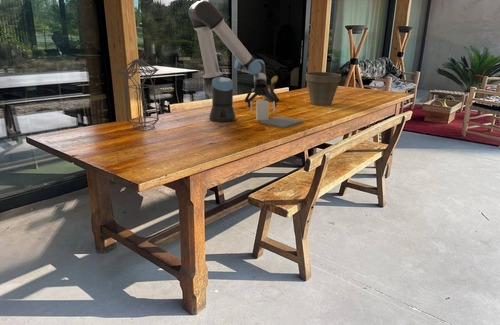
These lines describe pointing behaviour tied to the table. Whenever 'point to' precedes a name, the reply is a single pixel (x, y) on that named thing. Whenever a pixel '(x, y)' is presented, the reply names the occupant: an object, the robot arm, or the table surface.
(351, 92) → the table surface
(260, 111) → the grey cover
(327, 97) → the plant pot
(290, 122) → the slate board
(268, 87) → the utensil holder
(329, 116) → the table surface
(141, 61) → the geometric lantern
